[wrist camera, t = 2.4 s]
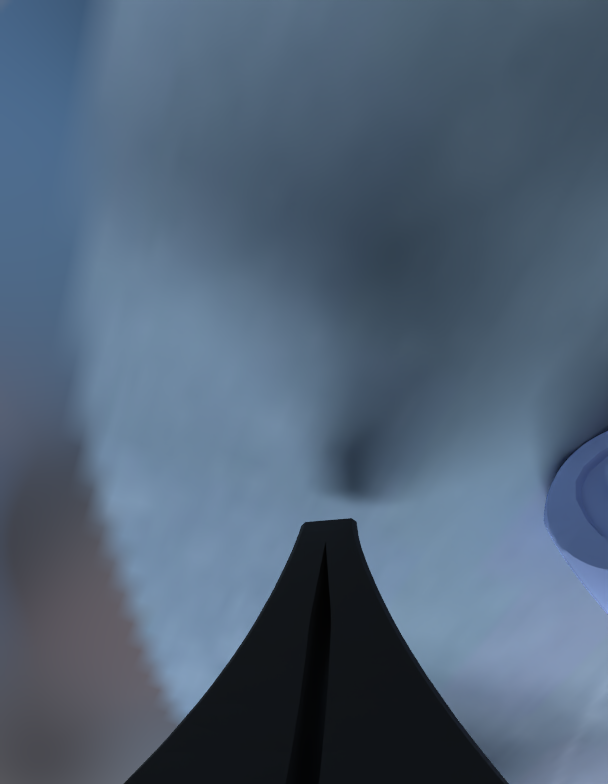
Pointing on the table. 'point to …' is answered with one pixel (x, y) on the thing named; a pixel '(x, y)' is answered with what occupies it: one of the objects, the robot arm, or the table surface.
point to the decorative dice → (583, 515)
